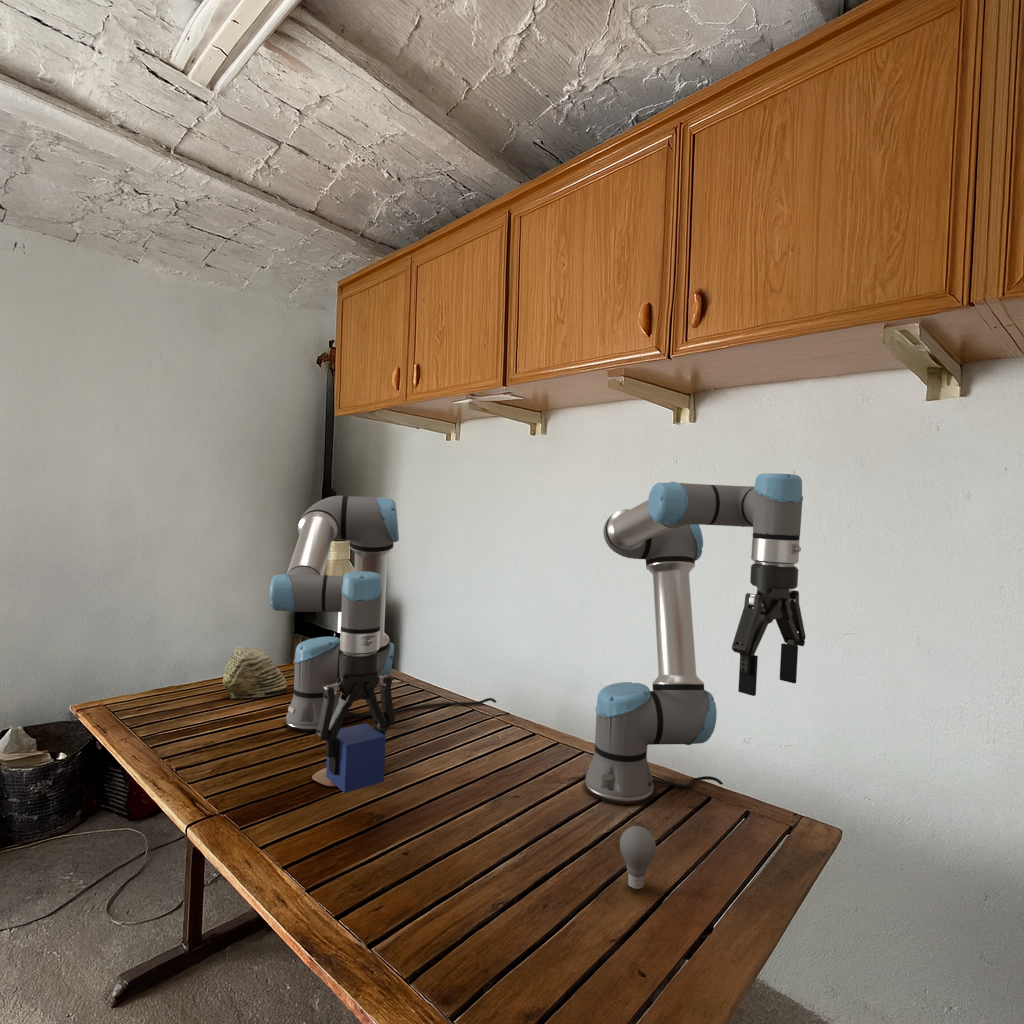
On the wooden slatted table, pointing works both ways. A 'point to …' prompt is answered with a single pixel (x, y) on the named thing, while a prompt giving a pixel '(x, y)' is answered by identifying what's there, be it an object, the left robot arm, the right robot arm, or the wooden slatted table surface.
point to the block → (359, 758)
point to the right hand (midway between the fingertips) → (768, 687)
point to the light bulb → (637, 853)
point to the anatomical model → (322, 778)
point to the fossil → (252, 674)
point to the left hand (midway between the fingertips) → (355, 766)
